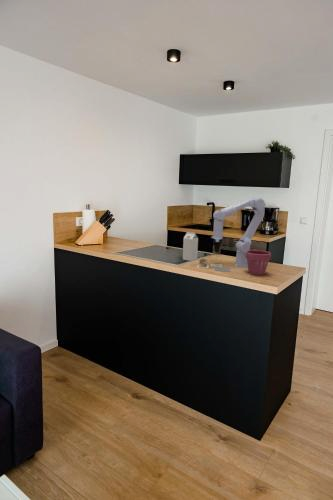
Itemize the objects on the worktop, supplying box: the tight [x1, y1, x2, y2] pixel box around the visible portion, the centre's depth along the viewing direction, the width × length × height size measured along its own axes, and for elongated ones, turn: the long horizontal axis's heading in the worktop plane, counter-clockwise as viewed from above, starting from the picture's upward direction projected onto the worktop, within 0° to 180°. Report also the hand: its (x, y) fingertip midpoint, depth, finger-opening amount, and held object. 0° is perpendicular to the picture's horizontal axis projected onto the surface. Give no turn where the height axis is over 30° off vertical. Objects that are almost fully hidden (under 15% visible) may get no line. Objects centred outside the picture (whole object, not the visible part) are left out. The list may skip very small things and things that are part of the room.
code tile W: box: [210, 263, 223, 268], centre depth 216 cm, size 7×7×1 cm
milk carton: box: [182, 231, 199, 262], centre depth 230 cm, size 7×7×19 cm
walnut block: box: [212, 244, 221, 256], centre depth 215 cm, size 4×4×5 cm
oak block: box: [198, 257, 208, 268], centre depth 212 cm, size 4×4×5 cm
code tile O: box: [196, 264, 210, 269], centre depth 213 cm, size 7×7×1 cm
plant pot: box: [245, 249, 272, 276], centre depth 200 cm, size 14×14×13 cm
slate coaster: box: [214, 267, 231, 273], centre depth 206 cm, size 9×9×1 cm
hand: (216, 251), depth 215 cm, fingers closed on walnut block, 4 cm apart
